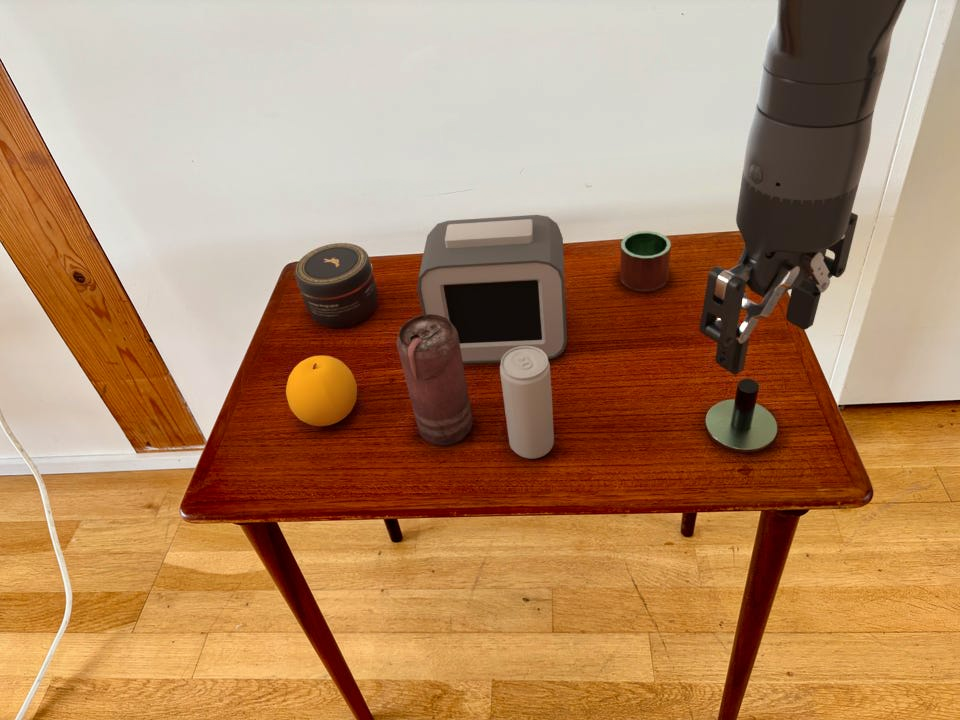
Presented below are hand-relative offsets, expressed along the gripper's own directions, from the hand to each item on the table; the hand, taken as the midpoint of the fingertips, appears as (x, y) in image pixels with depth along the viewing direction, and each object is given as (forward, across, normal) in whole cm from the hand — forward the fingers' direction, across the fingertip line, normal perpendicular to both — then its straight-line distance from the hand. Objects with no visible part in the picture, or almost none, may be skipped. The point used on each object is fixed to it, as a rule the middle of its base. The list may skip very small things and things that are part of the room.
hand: (764, 345), depth 60 cm
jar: (+16, -19, +52) cm, 57 cm away
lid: (+15, +4, +3) cm, 16 cm away
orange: (+16, -29, +35) cm, 48 cm away
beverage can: (+16, -14, +16) cm, 26 cm away
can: (+16, -20, +24) cm, 35 cm away
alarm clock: (+16, -6, +33) cm, 37 cm away
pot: (+16, +15, +29) cm, 37 cm away
